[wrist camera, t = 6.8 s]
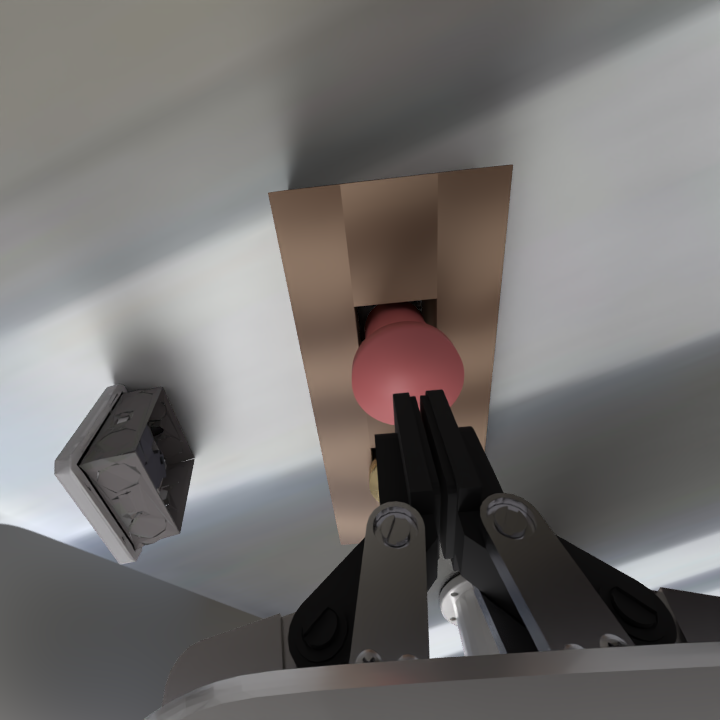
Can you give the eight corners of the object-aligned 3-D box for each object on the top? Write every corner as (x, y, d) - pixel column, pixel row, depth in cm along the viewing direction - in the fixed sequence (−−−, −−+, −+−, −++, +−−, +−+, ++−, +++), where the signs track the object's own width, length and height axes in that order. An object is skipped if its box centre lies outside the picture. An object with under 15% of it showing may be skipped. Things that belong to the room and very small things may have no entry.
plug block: (459, 485, 31) (476, 535, 27) (343, 494, 32) (341, 544, 28) (477, 168, 19) (513, 164, 15) (288, 189, 20) (268, 192, 15)
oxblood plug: (435, 359, 21) (462, 421, 16) (357, 367, 22) (357, 430, 16) (435, 283, 19) (467, 324, 14) (348, 291, 19) (345, 336, 14)
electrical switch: (111, 380, 26) (14, 471, 18) (179, 371, 26) (115, 457, 18) (157, 468, 30) (97, 573, 22) (215, 459, 31) (177, 561, 22)
